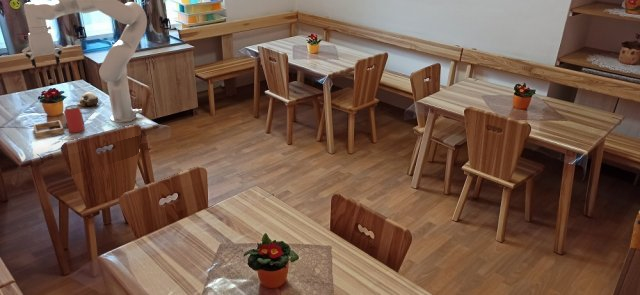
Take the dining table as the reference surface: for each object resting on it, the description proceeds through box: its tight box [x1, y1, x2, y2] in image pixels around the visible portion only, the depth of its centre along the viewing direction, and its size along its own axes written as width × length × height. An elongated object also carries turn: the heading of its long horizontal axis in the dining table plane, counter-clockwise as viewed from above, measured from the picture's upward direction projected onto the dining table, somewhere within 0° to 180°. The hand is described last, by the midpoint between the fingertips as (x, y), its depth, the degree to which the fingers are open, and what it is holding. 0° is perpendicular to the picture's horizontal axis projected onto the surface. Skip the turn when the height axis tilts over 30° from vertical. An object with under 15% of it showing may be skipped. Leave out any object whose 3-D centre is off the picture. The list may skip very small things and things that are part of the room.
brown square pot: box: [63, 107, 85, 126], centre depth 238 cm, size 7×7×7 cm
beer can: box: [64, 104, 85, 133], centre depth 229 cm, size 7×7×12 cm
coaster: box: [64, 125, 89, 137], centre depth 231 cm, size 9×9×1 cm
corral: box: [32, 119, 65, 139], centre depth 230 cm, size 12×12×3 cm
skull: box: [76, 91, 99, 110], centre depth 263 cm, size 12×10×10 cm
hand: (46, 65), depth 232 cm, fingers open, 9 cm apart
